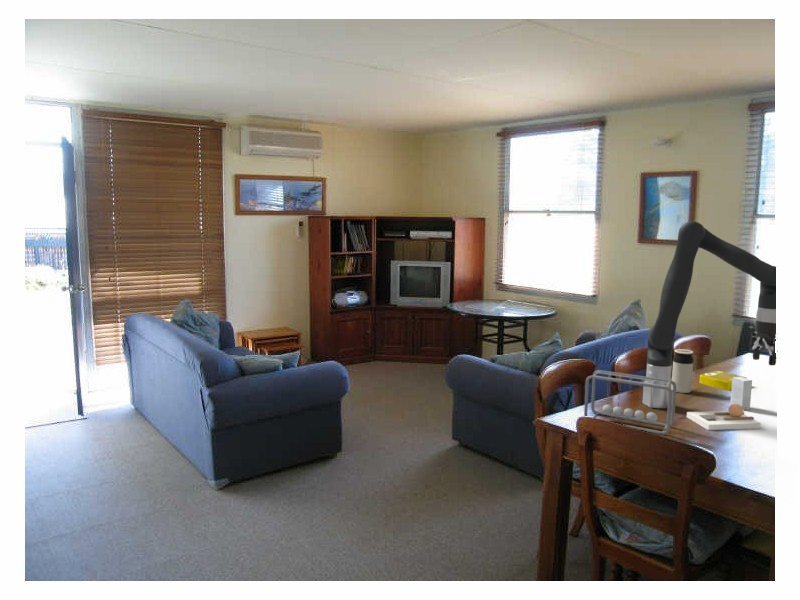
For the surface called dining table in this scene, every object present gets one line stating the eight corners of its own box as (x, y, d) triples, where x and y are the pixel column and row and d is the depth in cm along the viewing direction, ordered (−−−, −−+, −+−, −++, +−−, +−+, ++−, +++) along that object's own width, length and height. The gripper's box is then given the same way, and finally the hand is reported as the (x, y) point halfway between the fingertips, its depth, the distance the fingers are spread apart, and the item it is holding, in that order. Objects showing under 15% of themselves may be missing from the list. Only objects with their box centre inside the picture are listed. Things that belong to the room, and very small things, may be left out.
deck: (708, 430, 220) (708, 422, 220) (686, 417, 234) (687, 410, 234) (760, 428, 222) (760, 420, 222) (735, 415, 236) (736, 408, 236)
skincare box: (750, 409, 244) (752, 380, 242) (741, 410, 242) (744, 381, 241) (737, 404, 249) (740, 376, 248) (729, 405, 248) (731, 377, 246)
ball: (733, 419, 226) (734, 406, 225) (724, 415, 231) (726, 402, 230) (746, 419, 226) (747, 406, 226) (737, 414, 231) (738, 401, 231)
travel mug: (692, 394, 263) (695, 353, 261) (672, 392, 266) (674, 352, 263) (689, 389, 271) (692, 349, 268) (670, 387, 273) (673, 348, 271)
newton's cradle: (673, 427, 223) (677, 380, 221) (668, 436, 214) (672, 387, 212) (591, 412, 239) (593, 368, 237) (583, 420, 231) (585, 374, 228)
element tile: (728, 392, 268) (729, 381, 268) (697, 383, 281) (698, 373, 280) (748, 387, 276) (749, 376, 275) (716, 379, 289) (717, 369, 288)
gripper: (745, 316, 233) (741, 358, 236) (772, 323, 219) (767, 367, 222) (763, 316, 234) (759, 357, 237) (791, 323, 220) (786, 366, 223)
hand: (763, 362), depth 229 cm, fingers open, 8 cm apart
